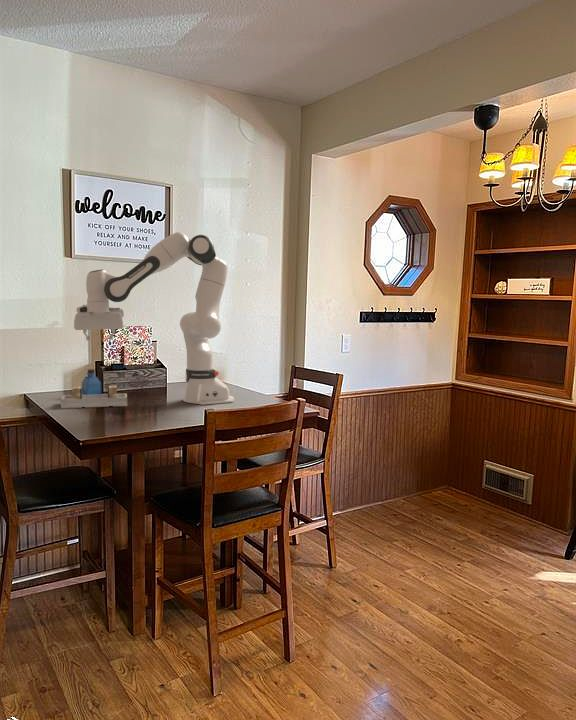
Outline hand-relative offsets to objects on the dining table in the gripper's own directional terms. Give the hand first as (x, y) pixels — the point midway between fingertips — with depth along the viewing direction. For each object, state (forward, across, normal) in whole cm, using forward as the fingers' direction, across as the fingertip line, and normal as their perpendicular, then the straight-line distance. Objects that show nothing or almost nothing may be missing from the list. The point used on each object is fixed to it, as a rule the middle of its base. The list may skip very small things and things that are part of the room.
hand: (99, 339), depth 248 cm
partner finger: (+25, -4, +10) cm, 27 cm away
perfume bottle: (+26, +5, -9) cm, 28 cm away
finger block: (+24, +10, +10) cm, 28 cm away
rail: (+26, +3, +10) cm, 28 cm away
